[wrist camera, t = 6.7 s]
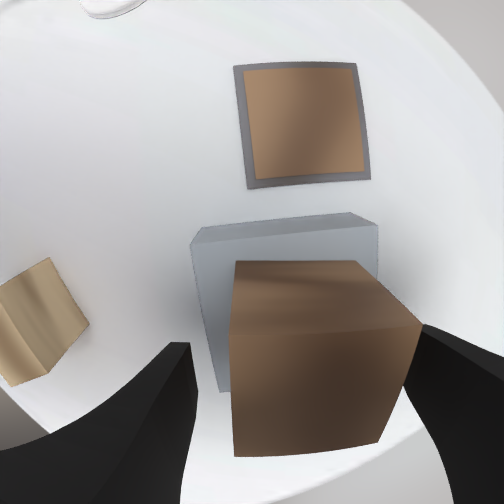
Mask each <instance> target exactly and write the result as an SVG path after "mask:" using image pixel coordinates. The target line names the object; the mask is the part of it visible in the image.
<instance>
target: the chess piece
mask: <svg viewBox="0 0 504 504" xmlns="http://www.w3.org/2000/svg"><path fill="white" fill-rule="evenodd" d="M144 1H145V0H79V2H80V5H81V7H82V8H83V10H84V11H85V13H86V14H87V15H89V16H91V17H93V18H100V19H103V18H111V17H115V16H118V15H121V14H124V13H126V12H128V11H130V10H132V9H134V8H135V7H137V6H139V5H140V4H141V3H143V2H144Z"/></svg>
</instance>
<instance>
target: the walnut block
mask: <svg viewBox="0 0 504 504" xmlns="http://www.w3.org/2000/svg"><path fill="white" fill-rule="evenodd" d="M422 326H423V324H422V323H421V322H420V321H419V320H418V319H417V318H416V317H415V316H414V315H413V314H412V313H411V312H410V311H409V310H408V309H407V308H406V307H405V306H404V305H403V304H402V303H401V302H400V301H399V300H398V299H397V298H396V297H395V296H393V295H392V294H391V293H390V292H389V291H388V290H387V289H386V288H385V287H384V286H383V285H382V284H381V283H380V282H379V281H377V280H376V279H375V278H374V277H373V276H372V275H371V274H370V273H369V272H368V271H367V270H366V269H364V268H363V267H362V266H361V265H360V264H359V263H358V262H357V261H356V260H318V261H270V260H236V263H235V273H234V283H233V293H232V303H231V314H230V324H229V335H228V337H229V364H230V388H231V409H232V427H233V445H234V457H265V456H286V455H299V454H309V453H318V452H326V451H334V450H340V449H346V448H352V447H358V446H363V445H368V444H373V443H377V442H378V441H379V439H380V437H381V435H382V433H383V431H384V429H385V426H386V424H387V422H388V420H389V418H390V415H391V413H392V411H393V408H394V406H395V404H396V401H397V399H398V396H399V394H400V391H401V389H402V386H403V384H404V381H405V378H406V376H407V373H408V370H409V367H410V364H411V362H412V359H413V356H414V352H415V349H416V346H417V343H418V340H419V336H420V333H421V329H422Z"/></svg>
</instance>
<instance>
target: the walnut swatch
mask: <svg viewBox="0 0 504 504" xmlns="http://www.w3.org/2000/svg"><path fill="white" fill-rule="evenodd" d="M233 68H234V76H235V85H236V93H237V102H238V110H239V119H240V127H241V136H242V144H243V153H244V162H245V170H246V179H247V188H248V189H255V188H264V187H274V186H284V185H295V184H307V183H320V182H334V181H349V180H368V179H371V171H370V159H369V148H368V138H367V129H366V121H365V114H364V107H363V100H362V93H361V87H360V82H359V76H358V71H357V65H356V63H343V62H274V63H259V64H247V65H237V66H233Z"/></svg>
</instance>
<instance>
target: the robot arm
mask: <svg viewBox="0 0 504 504" xmlns="http://www.w3.org/2000/svg"><path fill="white" fill-rule="evenodd" d="M403 386H404V389H405V391H406V393H407V396H408V398H409V399H410V401H411V403H412V405H413V406H414V408H415V410H416V412H417V413H418V415H419V417H420V418H421V420H422V422H423V424H424V425H425V427H426V429H427V431H428V432H429V434H430V436H431V438H432V439H433V441H434V443H435V445H436V447H437V449H438V452H439V454H440V457H441V460H442V462H443V465H444V468H445V471H446V474H447V477H448V481H449V484H450V488H451V492H452V497H453V501H454V504H504V357H502V356H499V355H497V354H494V353H492V352H489V351H487V350H485V349H482V348H480V347H478V346H476V345H473V344H471V343H469V342H467V341H465V340H463V339H460V338H458V337H456V336H454V335H452V334H450V333H447V332H445V331H443V330H440V329H438V328H435V327H433V326H430V325H427V324H424V325H423V326H422V329H421V333H420V336H419V340H418V343H417V346H416V349H415V352H414V356H413V359H412V362H411V364H410V367H409V370H408V373H407V376H406V378H405V381H404V384H403ZM197 399H198V388H197V382H196V376H195V371H194V365H193V359H192V352H191V346H190V343H189V342H170V343H169V344H168V345H167V346H166V347H165V348H164V349H163V350H162V351H161V352H160V353H159V354H158V355H157V356H156V357H155V358H154V359H153V360H152V361H151V362H150V363H149V364H148V365H147V366H146V367H145V368H143V369H142V370H141V371H140V372H139V373H138V374H137V375H136V376H135V377H134V378H133V379H132V380H131V381H129V382H128V383H127V384H126V385H125V386H123V387H122V388H121V389H120V390H119V391H117V392H116V393H115V394H114V395H112V396H111V397H110V398H109V399H107V400H106V401H105V402H103V403H102V404H101V405H99V406H98V407H96V408H95V409H93V410H92V411H90V412H89V413H87V414H86V415H84V416H83V417H81V418H79V419H78V420H76V421H74V422H72V423H70V424H68V425H66V426H64V427H62V428H61V429H59V430H57V431H55V432H53V433H51V434H49V435H46V436H44V437H42V438H39V439H37V440H34V441H31V442H29V443H26V444H23V445H20V446H17V447H14V448H10V449H6V450H2V451H0V504H180V494H181V484H182V478H183V473H184V468H185V464H186V459H187V455H188V450H189V446H190V442H191V437H192V433H193V428H194V424H195V419H196V410H197Z"/></svg>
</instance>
